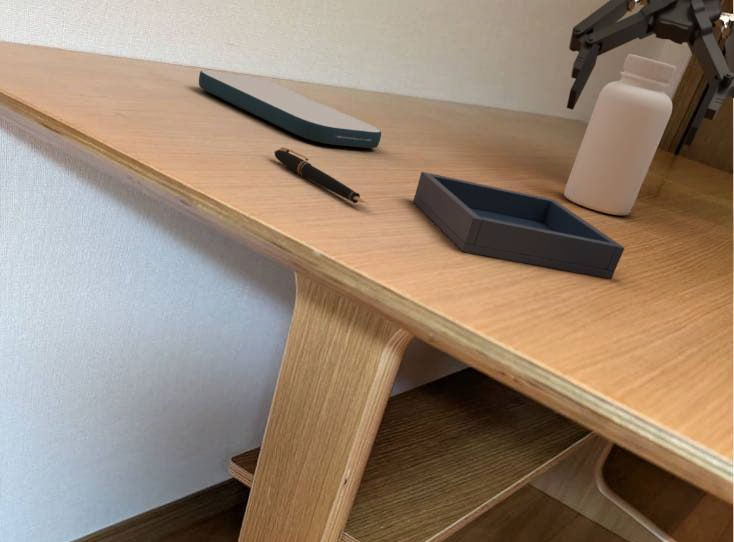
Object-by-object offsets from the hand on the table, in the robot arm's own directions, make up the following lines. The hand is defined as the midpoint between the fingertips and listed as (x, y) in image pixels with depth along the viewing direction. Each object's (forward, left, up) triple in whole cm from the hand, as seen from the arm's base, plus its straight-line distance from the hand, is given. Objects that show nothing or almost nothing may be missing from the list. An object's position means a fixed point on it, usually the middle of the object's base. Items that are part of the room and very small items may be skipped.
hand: (630, 118), depth 90 cm
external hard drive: (+36, -11, -9) cm, 38 cm away
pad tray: (+22, +24, -9) cm, 34 cm away
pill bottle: (+1, +1, -9) cm, 10 cm away
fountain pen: (+38, +18, -9) cm, 43 cm away
